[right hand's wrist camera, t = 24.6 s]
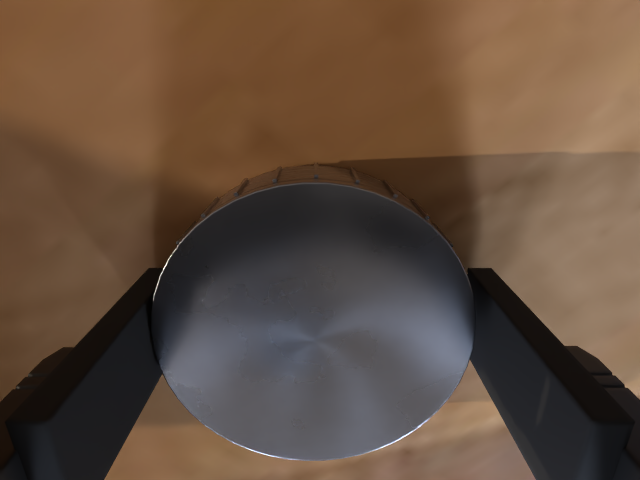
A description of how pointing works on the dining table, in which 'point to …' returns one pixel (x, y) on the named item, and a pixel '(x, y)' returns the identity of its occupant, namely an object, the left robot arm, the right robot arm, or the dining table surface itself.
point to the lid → (313, 315)
